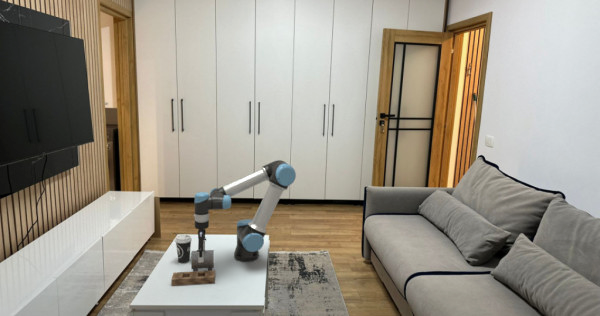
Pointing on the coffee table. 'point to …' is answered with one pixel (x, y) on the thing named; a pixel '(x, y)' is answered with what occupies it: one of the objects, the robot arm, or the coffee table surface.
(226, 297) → the coffee table surface
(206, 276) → the rail
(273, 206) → the robot arm
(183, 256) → the coffee cup
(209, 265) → the grey flat block
